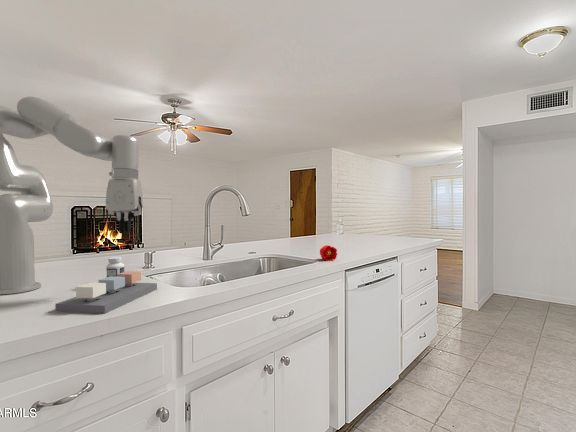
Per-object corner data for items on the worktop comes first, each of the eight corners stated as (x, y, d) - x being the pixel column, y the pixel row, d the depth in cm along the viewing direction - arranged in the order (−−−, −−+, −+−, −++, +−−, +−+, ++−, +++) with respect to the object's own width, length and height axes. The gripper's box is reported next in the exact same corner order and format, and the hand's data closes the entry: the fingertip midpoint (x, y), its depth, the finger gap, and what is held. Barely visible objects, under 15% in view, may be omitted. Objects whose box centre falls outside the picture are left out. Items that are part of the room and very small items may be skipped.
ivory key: (76, 305, 81) (76, 286, 81) (90, 299, 86) (90, 282, 86) (93, 305, 81) (92, 287, 81) (106, 300, 86) (105, 283, 86)
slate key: (98, 296, 89) (98, 279, 89) (110, 292, 94) (110, 276, 94) (114, 297, 89) (113, 280, 89) (125, 292, 94) (124, 276, 93)
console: (55, 311, 81) (55, 303, 80) (117, 288, 104) (117, 282, 104) (105, 313, 79) (104, 305, 79) (157, 289, 102) (156, 283, 102)
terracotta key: (117, 289, 97) (117, 274, 97) (127, 285, 102) (127, 271, 102) (131, 289, 97) (131, 274, 97) (141, 286, 101) (140, 271, 101)
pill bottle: (120, 283, 111) (120, 256, 111) (127, 285, 108) (126, 257, 108) (104, 286, 107) (103, 257, 107) (110, 288, 104) (110, 259, 104)
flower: (333, 248, 165) (340, 249, 158) (328, 261, 165) (334, 263, 157) (321, 242, 164) (326, 243, 156) (315, 256, 163) (321, 258, 155)
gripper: (95, 174, 96) (94, 233, 97) (139, 174, 94) (139, 234, 95) (111, 176, 104) (111, 231, 104) (153, 176, 102) (153, 233, 102)
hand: (125, 233), depth 99 cm, fingers closed
